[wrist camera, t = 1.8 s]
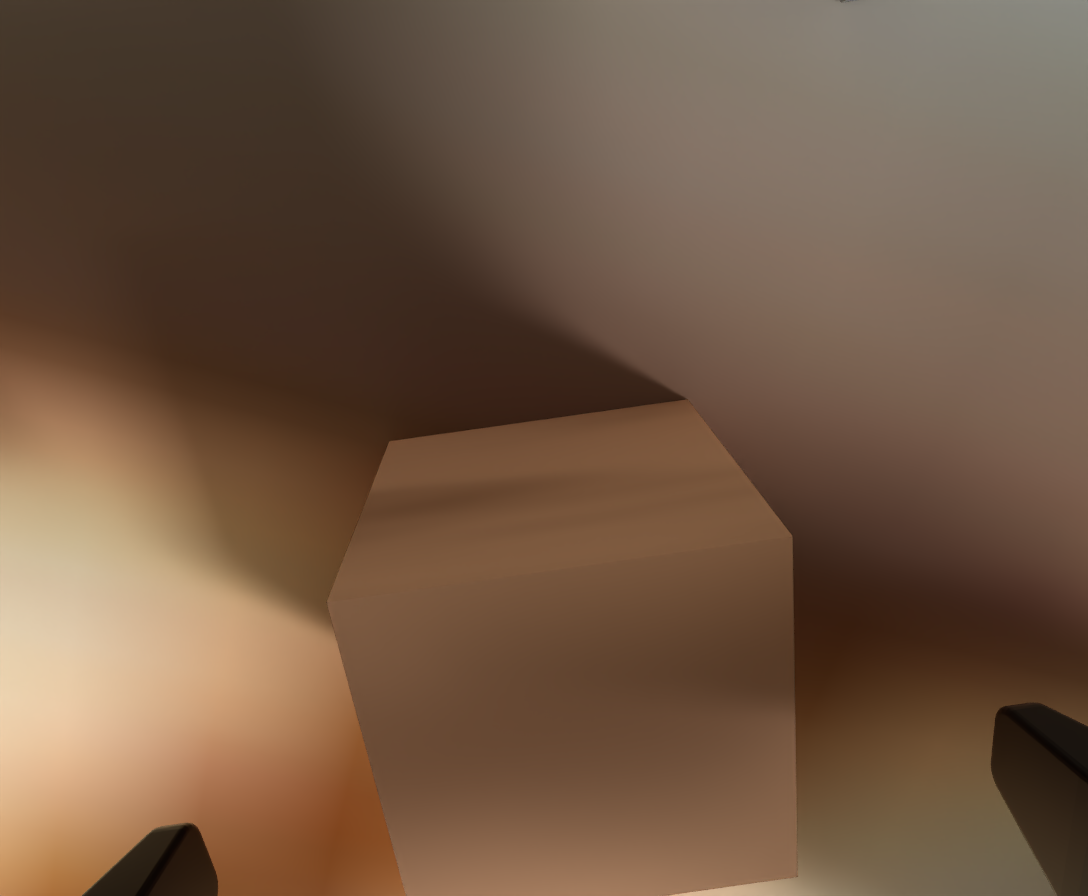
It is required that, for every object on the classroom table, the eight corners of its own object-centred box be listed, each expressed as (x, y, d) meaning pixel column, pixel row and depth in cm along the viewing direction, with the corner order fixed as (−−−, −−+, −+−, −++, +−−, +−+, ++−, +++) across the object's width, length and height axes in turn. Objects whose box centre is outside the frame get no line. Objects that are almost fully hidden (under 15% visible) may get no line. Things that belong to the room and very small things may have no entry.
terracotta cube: (702, 646, 15) (797, 876, 10) (442, 683, 15) (415, 931, 10) (686, 397, 13) (792, 536, 8) (390, 439, 13) (326, 601, 8)
